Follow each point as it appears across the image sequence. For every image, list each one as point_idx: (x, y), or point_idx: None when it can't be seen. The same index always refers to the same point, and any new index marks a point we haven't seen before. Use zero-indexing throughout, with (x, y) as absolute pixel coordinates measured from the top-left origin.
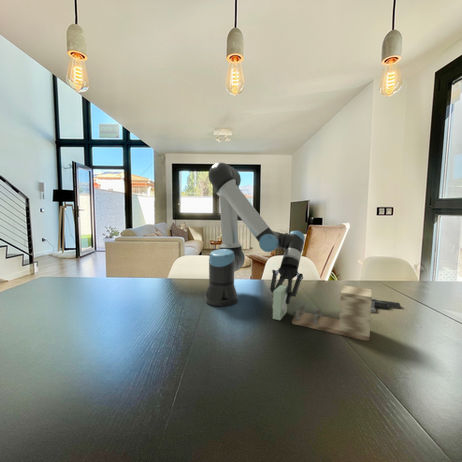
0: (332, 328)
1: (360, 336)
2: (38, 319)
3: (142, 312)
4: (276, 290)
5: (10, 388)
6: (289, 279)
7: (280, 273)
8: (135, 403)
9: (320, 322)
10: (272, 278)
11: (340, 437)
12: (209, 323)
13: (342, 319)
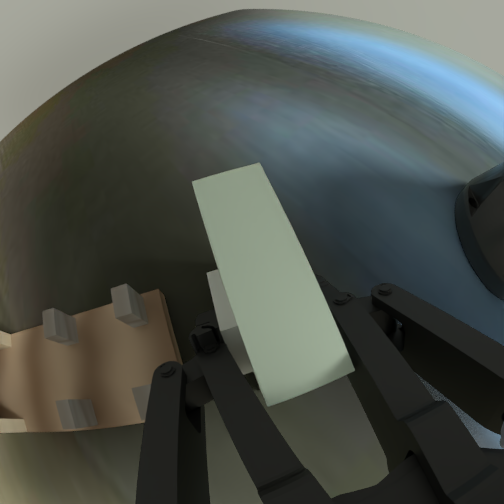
0: (23, 332)
1: None
2: (445, 52)
3: (451, 93)
4: (251, 187)
5: (314, 12)
6: (283, 477)
7: (489, 451)
8: (224, 28)
9: (61, 355)
10: (481, 336)
11: (40, 112)
12: (357, 113)
13: None
